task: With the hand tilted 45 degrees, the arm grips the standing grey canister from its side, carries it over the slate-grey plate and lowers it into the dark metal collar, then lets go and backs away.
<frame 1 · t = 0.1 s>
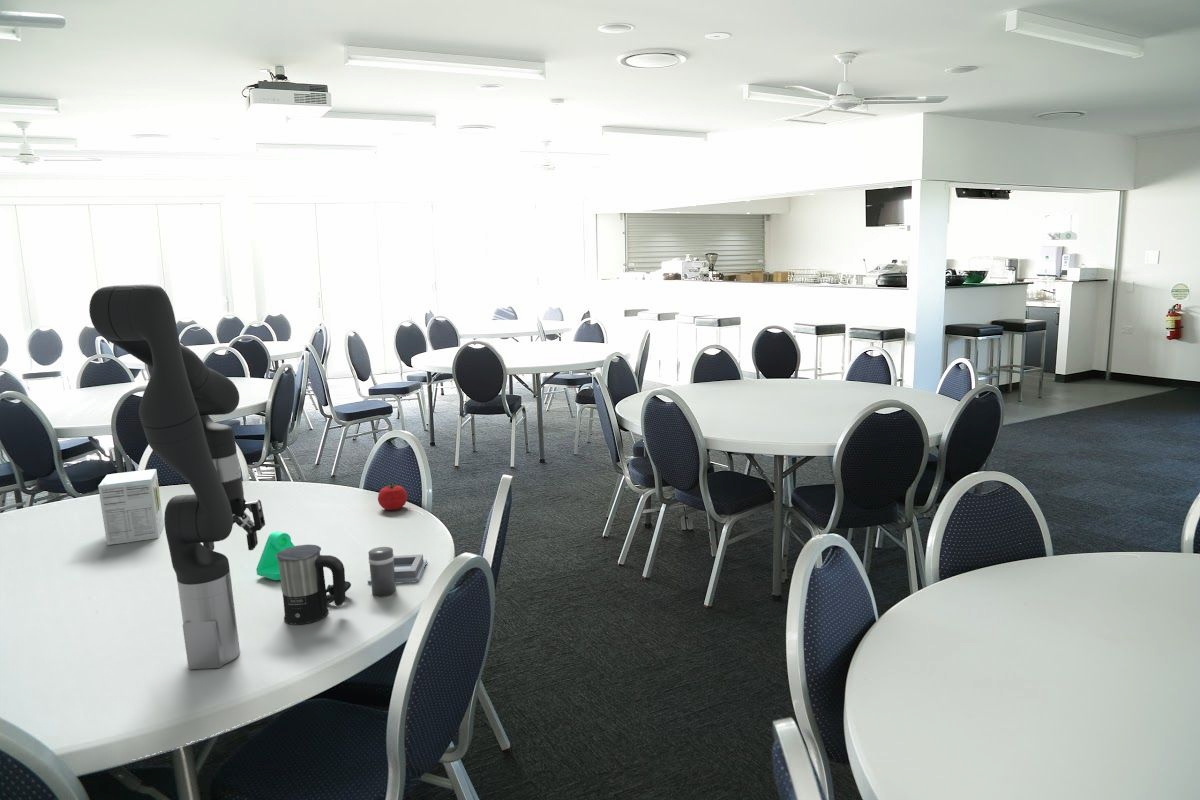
hand: (231, 549, 170), 17 cm above the table, tool pointing down, fingers open, 8 cm apart
grey canister: (384, 591, 188), on the table
supplement box: (136, 535, 235), on the table
camera mount: (288, 574, 202), on the table
tomato: (393, 509, 250), on the table
milk frother: (318, 609, 181), on the table
collar plate: (398, 573, 199), on the table
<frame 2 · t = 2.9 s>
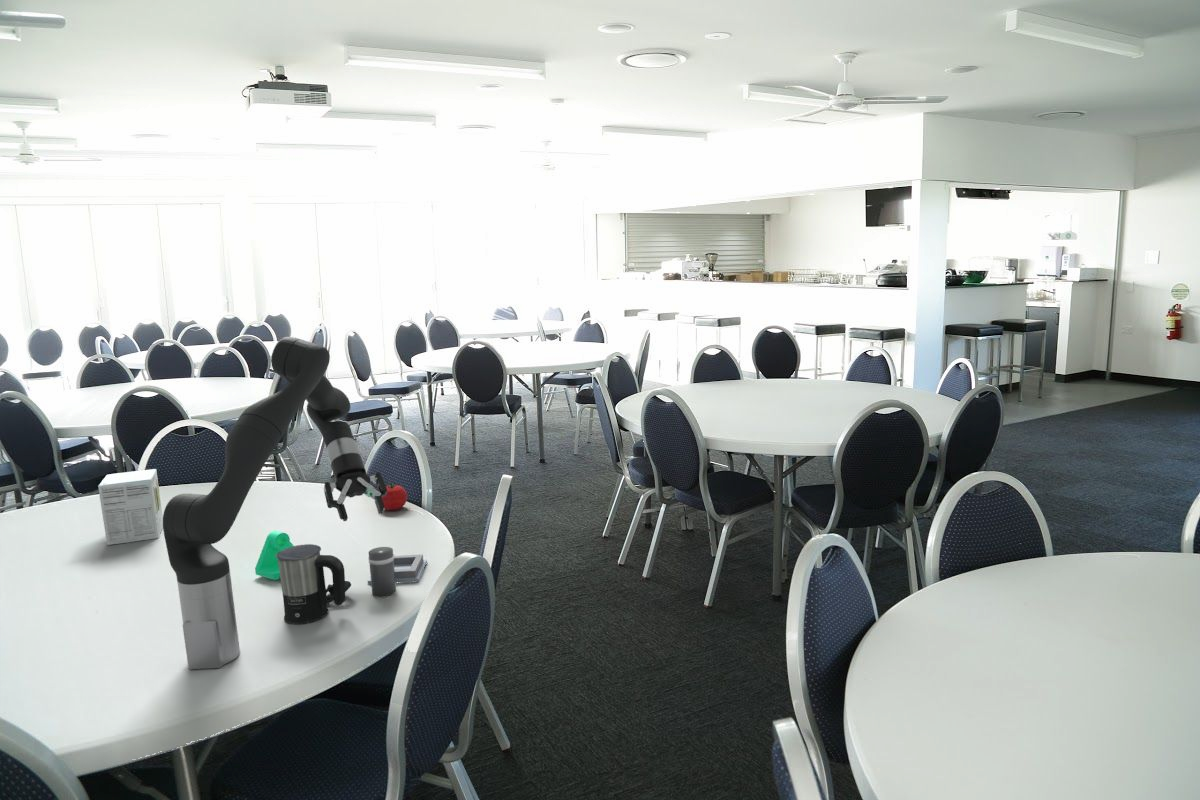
hand: (363, 515, 196), 15 cm above the table, tool tilted 45°, fingers open, 8 cm apart
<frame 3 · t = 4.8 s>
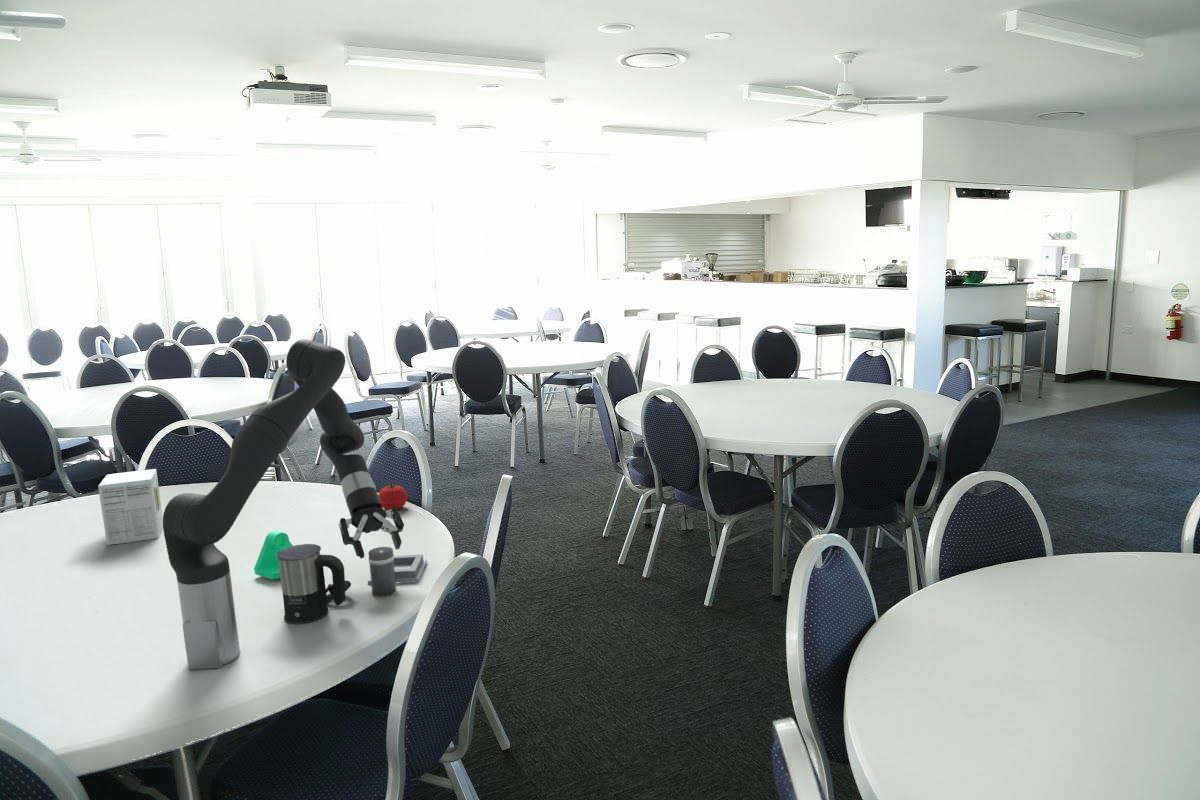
hand: (380, 552, 191), 8 cm above the table, tool tilted 45°, fingers open, 8 cm apart
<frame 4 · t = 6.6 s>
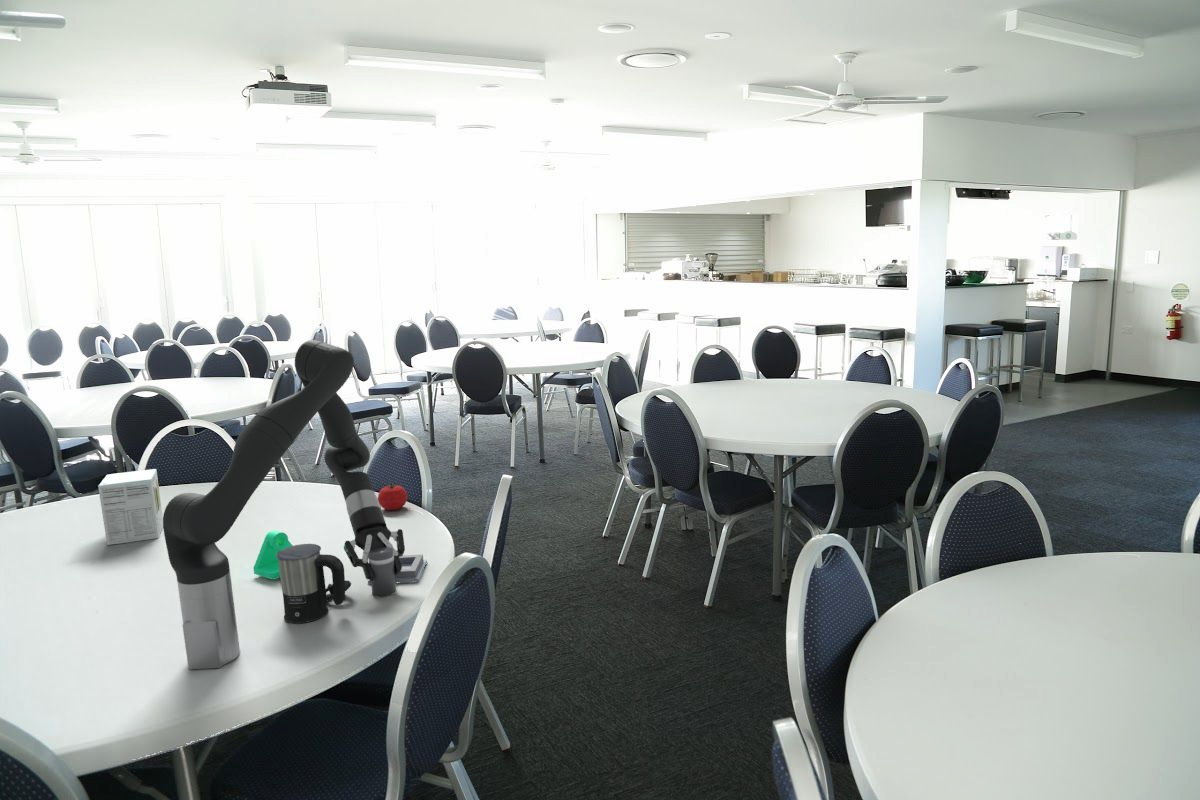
hand: (385, 576, 186), 4 cm above the table, tool tilted 45°, fingers closed on grey canister, 5 cm apart
grey canister: (384, 591, 188), on the table, touching gripper
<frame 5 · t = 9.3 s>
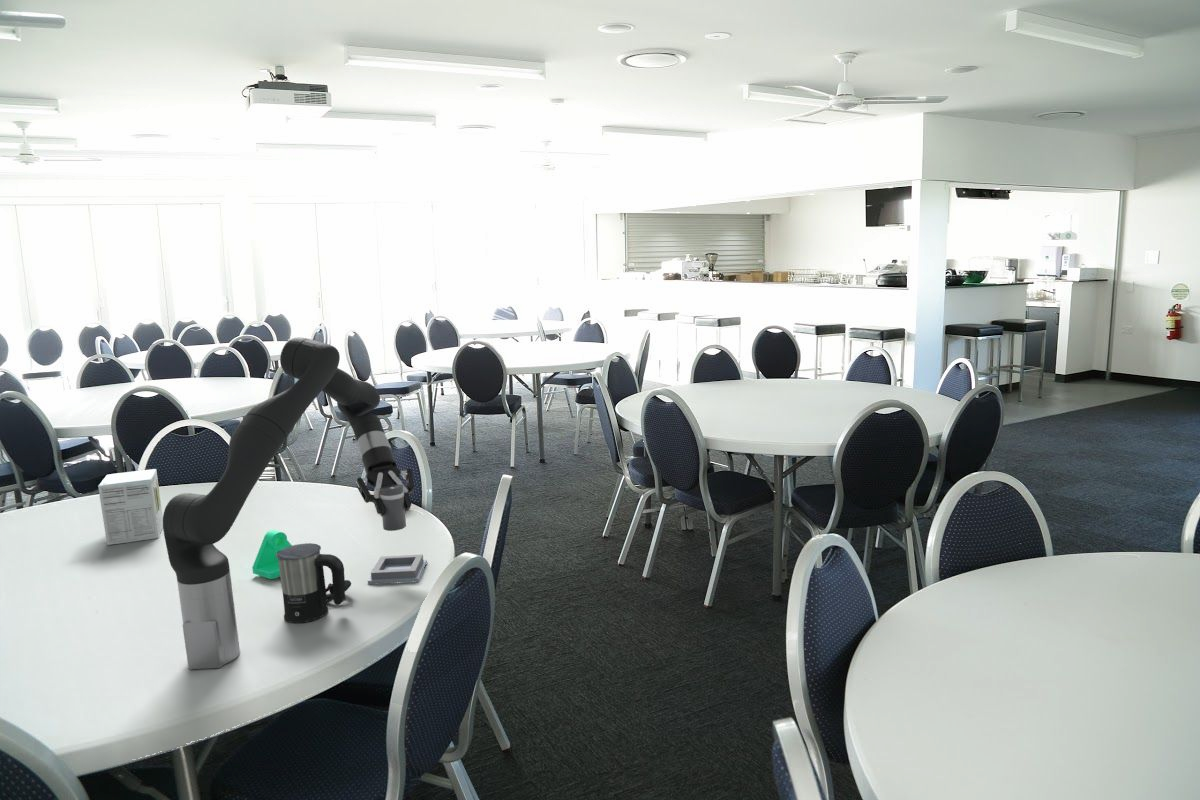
hand: (395, 511, 195), 16 cm above the table, tool tilted 45°, fingers closed on grey canister, 5 cm apart
grey canister: (394, 526, 197), point 12 cm above the table, touching gripper
when the fingers open (7 cm above the table, at t = 12.0 s): grey canister drops 1 cm, resting on collar plate.
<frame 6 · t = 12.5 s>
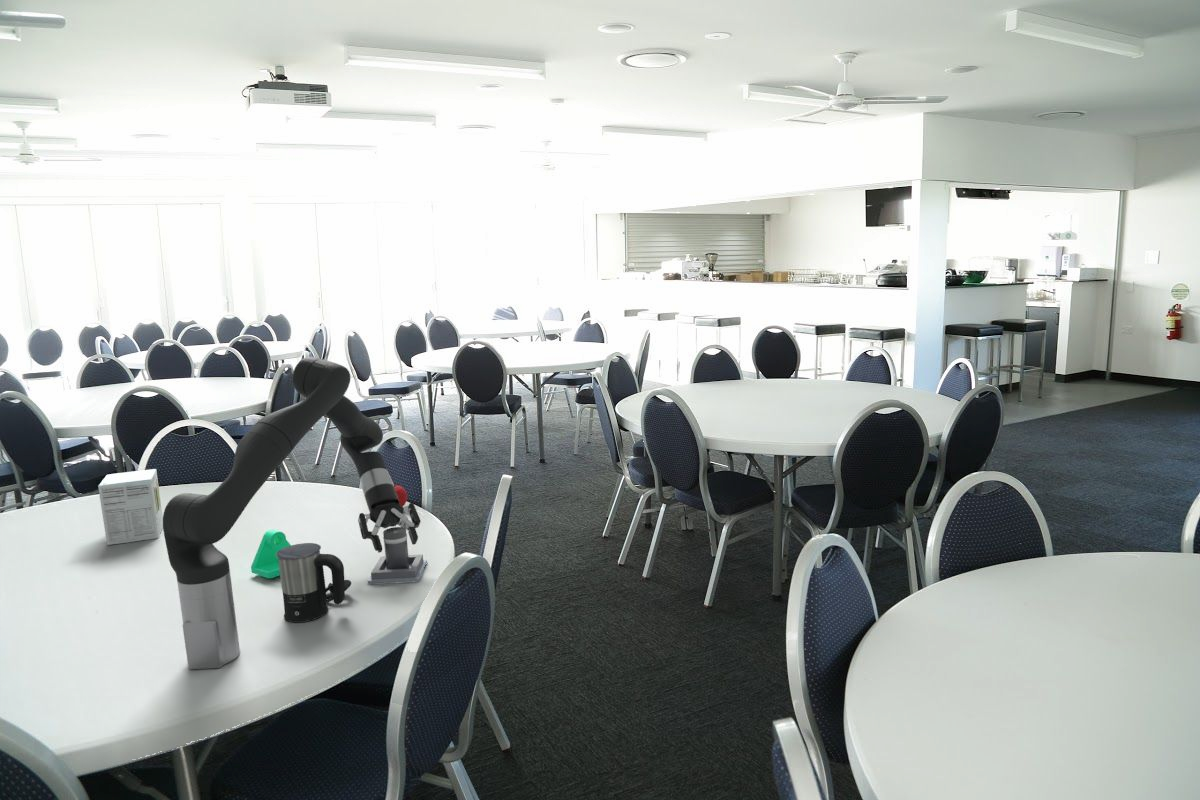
hand: (397, 546, 197), 7 cm above the table, tool tilted 45°, fingers open, 8 cm apart
grey canister: (398, 569, 199), point 1 cm above the table, touching collar plate
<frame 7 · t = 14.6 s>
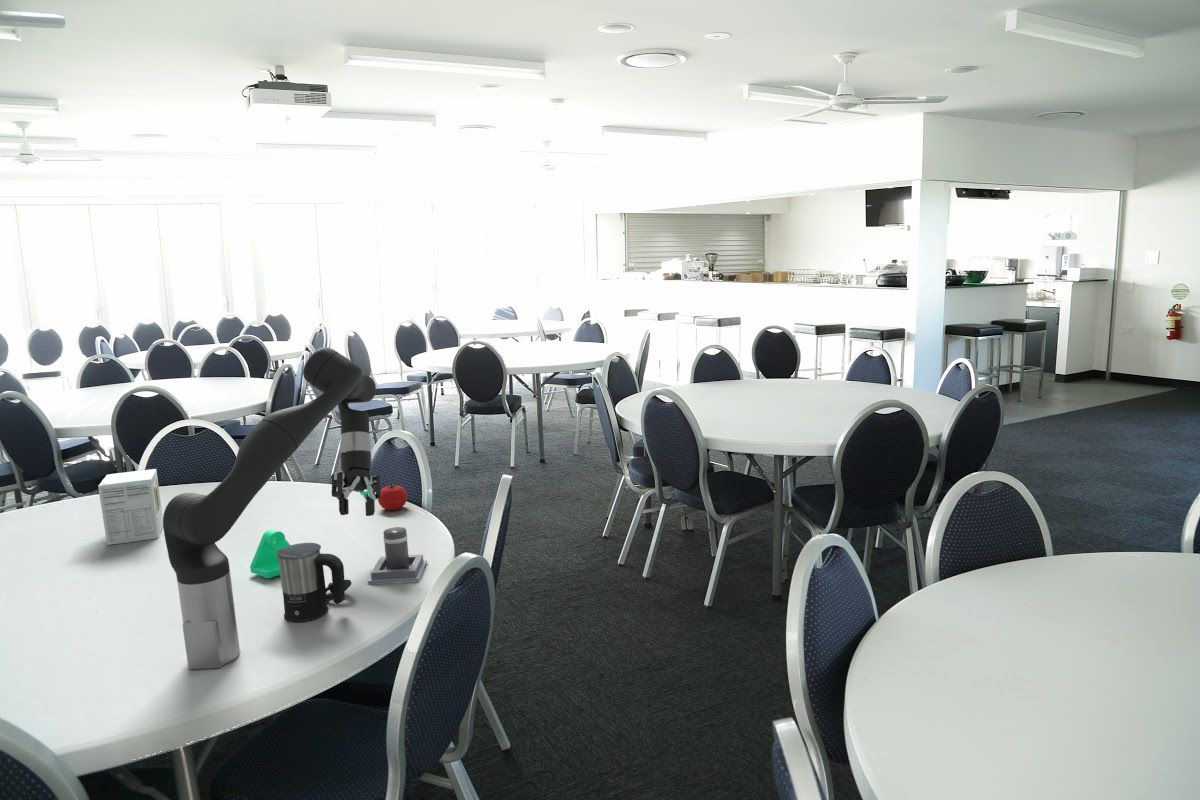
hand: (357, 515, 204), 13 cm above the table, tool tilted 25°, fingers open, 8 cm apart
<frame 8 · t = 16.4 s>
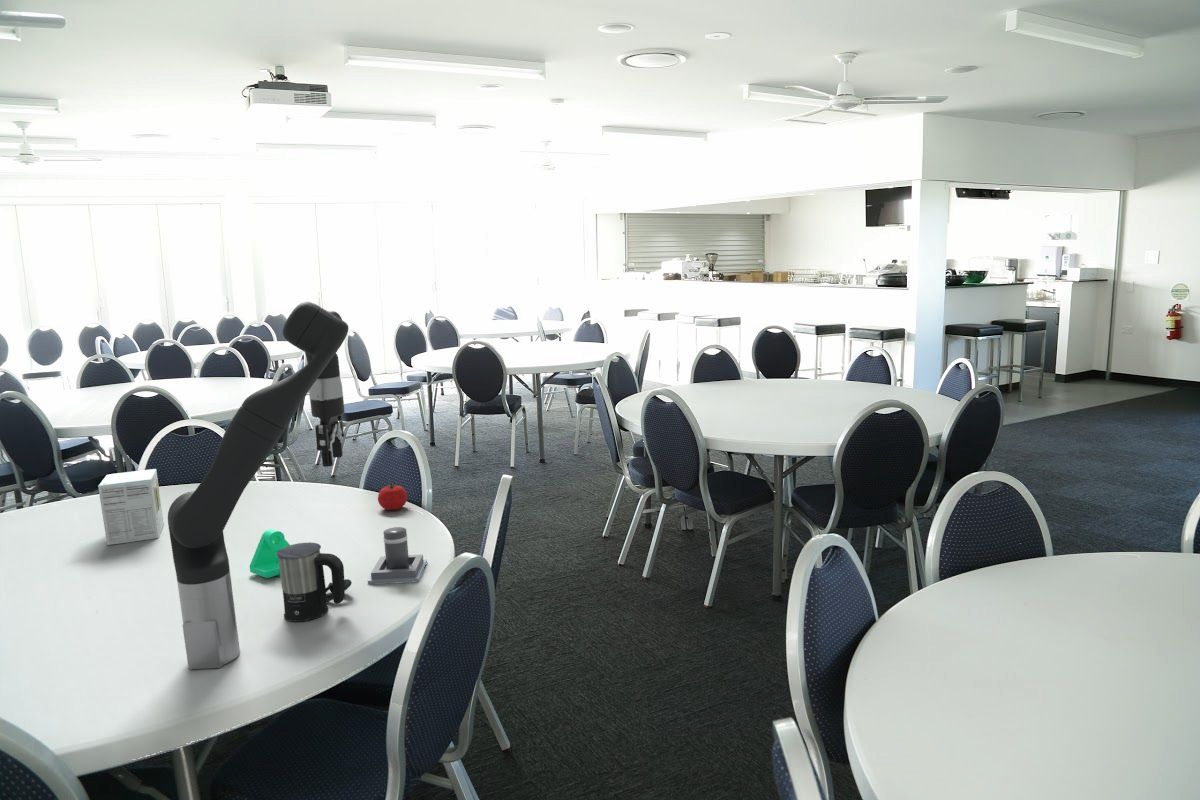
hand: (333, 461, 197), 28 cm above the table, tool pointing down, fingers open, 8 cm apart
at the end: grey canister 0.2 cm off-centre on the collar plate, point 0.8 cm above the collar plate's base; grey canister tilted 0°; the gripper is holding nothing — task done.
